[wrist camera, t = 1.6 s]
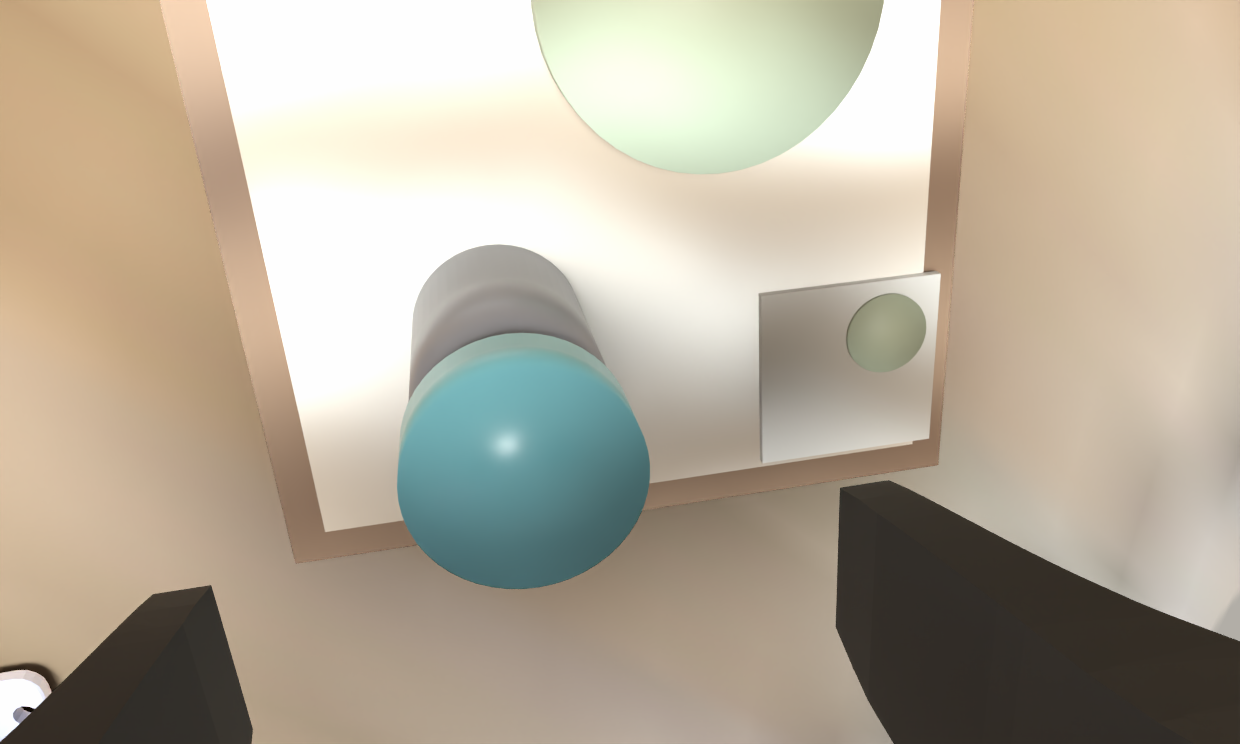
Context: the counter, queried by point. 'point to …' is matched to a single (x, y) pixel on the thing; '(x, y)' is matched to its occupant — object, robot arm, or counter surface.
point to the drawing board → (589, 220)
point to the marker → (514, 427)
